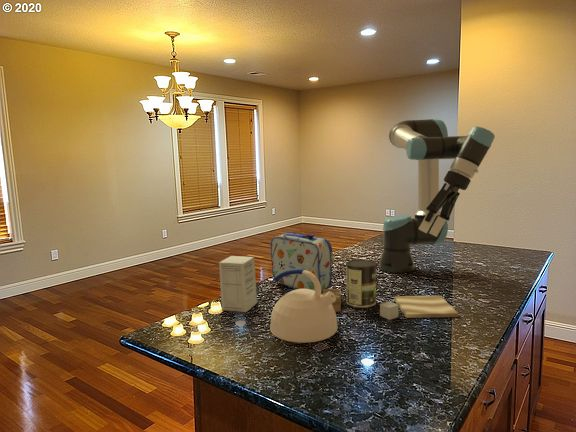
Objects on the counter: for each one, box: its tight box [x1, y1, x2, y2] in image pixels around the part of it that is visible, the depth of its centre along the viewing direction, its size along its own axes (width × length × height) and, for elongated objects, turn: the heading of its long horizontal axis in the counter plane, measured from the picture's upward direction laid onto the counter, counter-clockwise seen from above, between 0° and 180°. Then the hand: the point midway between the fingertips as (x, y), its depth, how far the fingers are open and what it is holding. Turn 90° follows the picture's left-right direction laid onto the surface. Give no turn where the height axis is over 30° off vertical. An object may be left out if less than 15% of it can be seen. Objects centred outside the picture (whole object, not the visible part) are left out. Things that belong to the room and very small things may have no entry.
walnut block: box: [321, 292, 342, 313], centre depth 135 cm, size 5×5×5 cm
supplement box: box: [218, 255, 258, 313], centre depth 139 cm, size 10×9×17 cm
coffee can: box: [345, 258, 377, 309], centre depth 140 cm, size 10×10×14 cm
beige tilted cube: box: [379, 300, 400, 321], centre depth 128 cm, size 4×4×4 cm
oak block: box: [322, 288, 342, 300], centre depth 142 cm, size 5×6×4 cm
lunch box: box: [270, 231, 336, 291], centre depth 156 cm, size 28×10×22 cm, turn 47°
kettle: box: [269, 269, 339, 344], centre depth 120 cm, size 20×21×18 cm
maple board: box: [394, 295, 459, 319], centre depth 134 cm, size 16×16×1 cm
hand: (427, 233), depth 132 cm, fingers open, 13 cm apart
